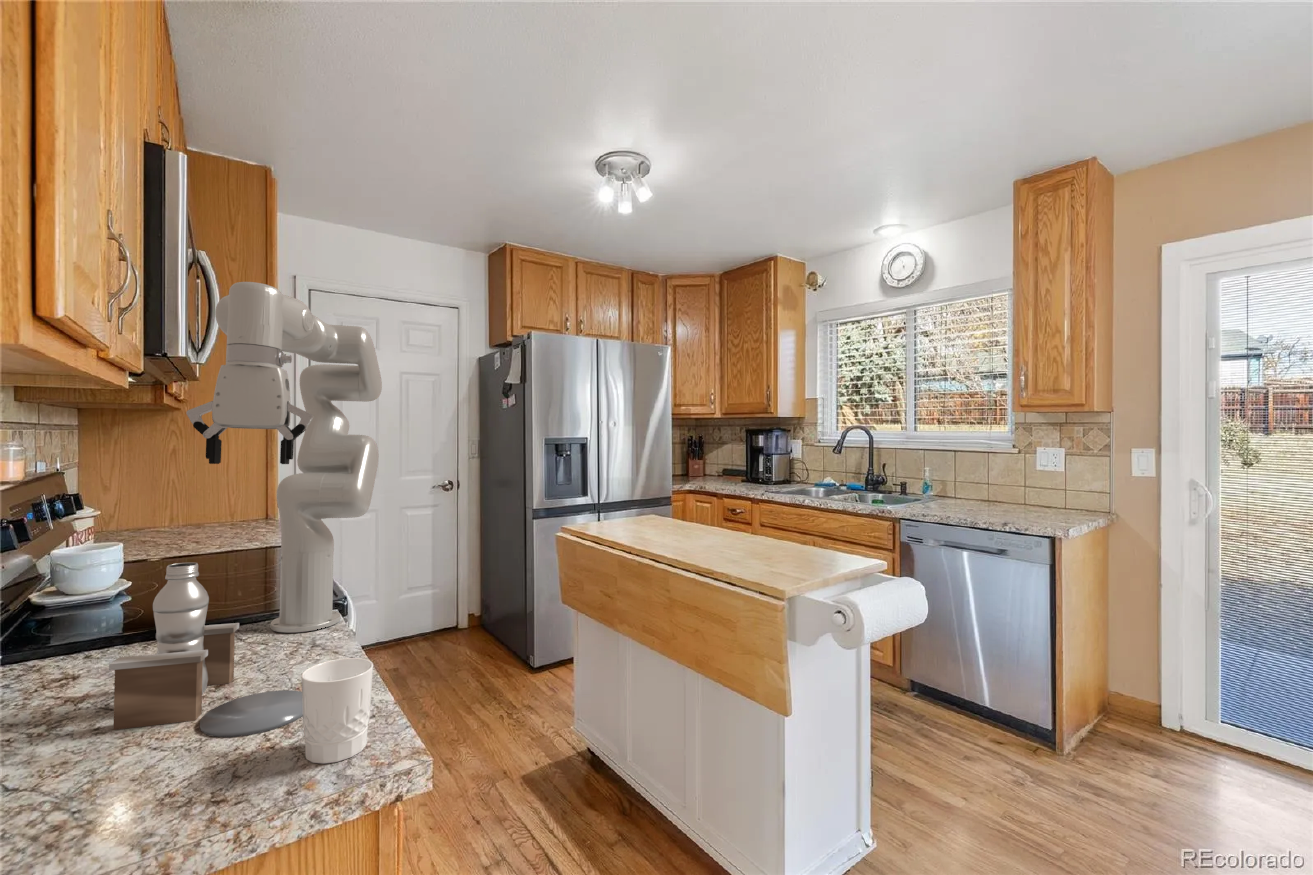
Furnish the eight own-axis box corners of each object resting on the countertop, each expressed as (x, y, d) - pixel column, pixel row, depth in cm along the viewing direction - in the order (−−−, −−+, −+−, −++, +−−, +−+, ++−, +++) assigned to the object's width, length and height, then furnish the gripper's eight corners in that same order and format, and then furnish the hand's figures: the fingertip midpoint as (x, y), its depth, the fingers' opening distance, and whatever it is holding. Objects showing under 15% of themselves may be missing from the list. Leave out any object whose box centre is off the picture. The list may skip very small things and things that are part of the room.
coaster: (220, 700, 86) (220, 696, 86) (320, 689, 90) (320, 685, 90) (182, 743, 74) (182, 739, 74) (300, 728, 78) (300, 723, 78)
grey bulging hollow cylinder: (176, 714, 82) (179, 570, 82) (137, 709, 83) (141, 568, 83) (219, 694, 88) (222, 561, 88) (182, 690, 89) (185, 559, 90)
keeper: (162, 685, 91) (163, 628, 91) (238, 677, 95) (239, 622, 95) (107, 731, 77) (109, 664, 77) (199, 720, 80) (200, 656, 80)
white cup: (287, 753, 72) (289, 672, 72) (350, 728, 78) (352, 653, 78) (320, 774, 67) (321, 687, 68) (384, 745, 74) (385, 666, 74)
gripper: (318, 366, 103) (315, 464, 102) (199, 360, 96) (194, 463, 96) (310, 359, 96) (306, 464, 95) (180, 351, 89) (175, 463, 89)
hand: (250, 463), depth 95 cm, fingers open, 9 cm apart
